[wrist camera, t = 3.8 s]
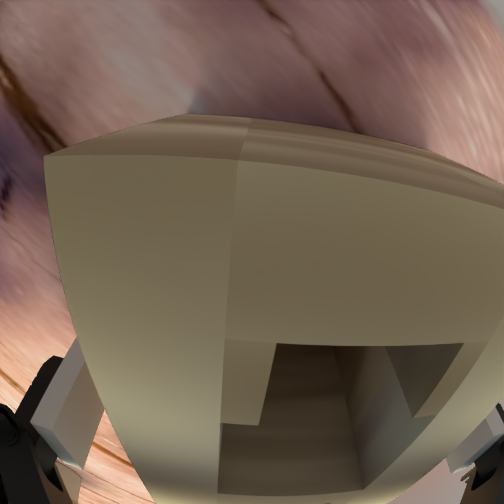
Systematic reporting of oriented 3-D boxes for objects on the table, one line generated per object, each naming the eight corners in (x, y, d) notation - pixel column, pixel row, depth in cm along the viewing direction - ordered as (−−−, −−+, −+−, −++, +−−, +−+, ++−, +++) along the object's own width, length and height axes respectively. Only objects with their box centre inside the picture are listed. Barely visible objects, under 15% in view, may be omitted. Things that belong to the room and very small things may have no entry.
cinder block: (186, 113, 9) (43, 157, 3) (428, 150, 9) (590, 239, 3) (190, 423, 16) (174, 530, 10) (325, 429, 16) (338, 532, 10)
